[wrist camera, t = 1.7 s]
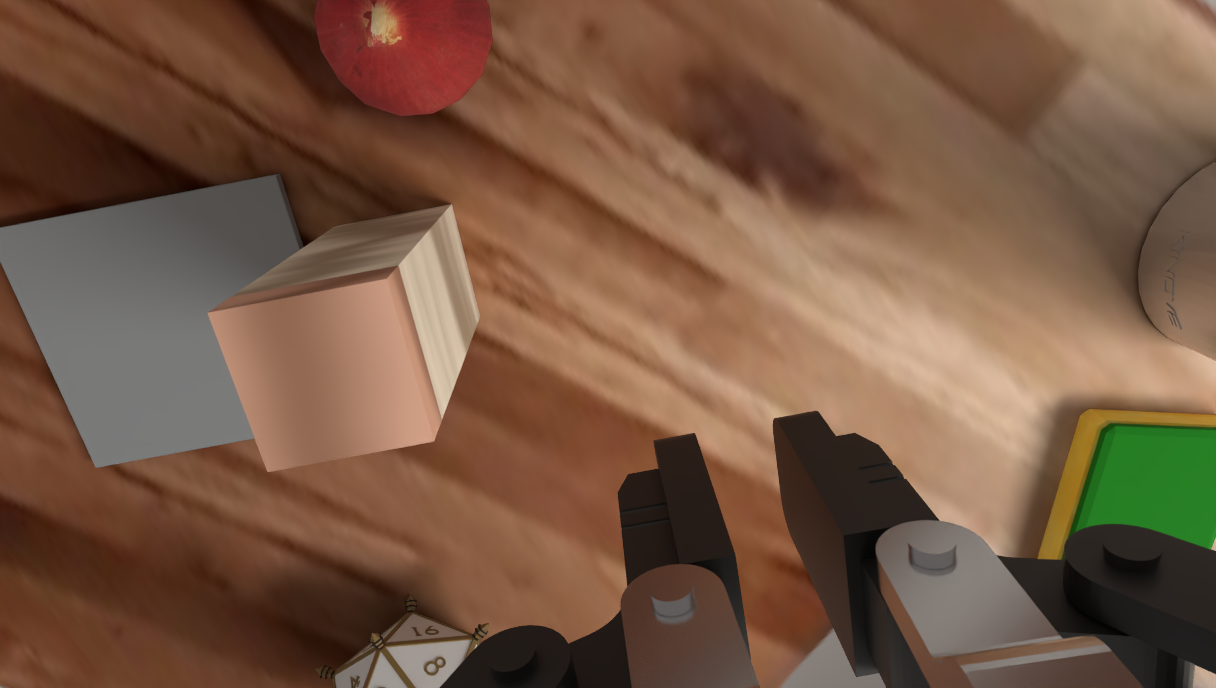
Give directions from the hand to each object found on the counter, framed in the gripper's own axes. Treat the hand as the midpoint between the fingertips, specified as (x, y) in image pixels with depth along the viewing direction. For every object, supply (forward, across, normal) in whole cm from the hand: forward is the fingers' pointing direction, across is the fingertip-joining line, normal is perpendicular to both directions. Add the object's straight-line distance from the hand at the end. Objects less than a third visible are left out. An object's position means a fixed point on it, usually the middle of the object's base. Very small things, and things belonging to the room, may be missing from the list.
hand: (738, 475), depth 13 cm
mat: (+21, +20, 0) cm, 29 cm away
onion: (+21, +7, -9) cm, 24 cm away
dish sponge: (+22, -21, +20) cm, 36 cm away
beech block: (+21, +10, 0) cm, 23 cm away
